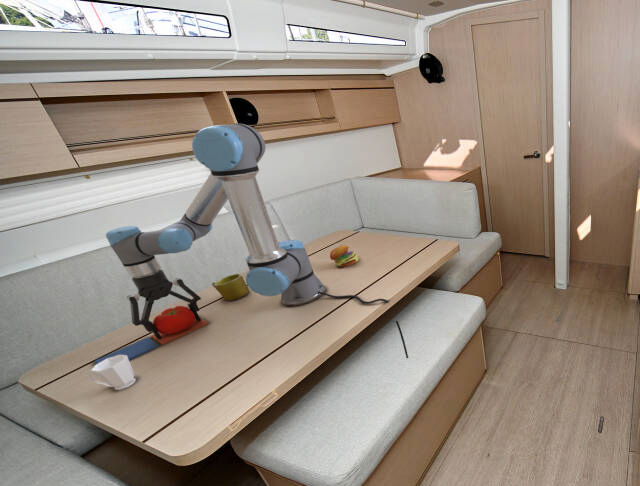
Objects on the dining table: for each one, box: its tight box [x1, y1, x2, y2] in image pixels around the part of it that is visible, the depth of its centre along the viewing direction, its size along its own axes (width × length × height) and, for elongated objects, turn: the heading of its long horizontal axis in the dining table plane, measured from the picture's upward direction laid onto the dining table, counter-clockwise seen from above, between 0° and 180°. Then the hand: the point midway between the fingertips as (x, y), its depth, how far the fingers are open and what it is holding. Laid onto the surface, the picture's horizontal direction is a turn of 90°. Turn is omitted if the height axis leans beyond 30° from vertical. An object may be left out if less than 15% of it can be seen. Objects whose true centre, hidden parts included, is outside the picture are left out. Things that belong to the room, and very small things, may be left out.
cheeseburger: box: [329, 244, 359, 268], centre depth 164 cm, size 10×11×10 cm
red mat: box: [151, 318, 209, 346], centre depth 124 cm, size 10×13×1 cm
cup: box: [87, 355, 137, 391], centre depth 98 cm, size 7×10×8 cm
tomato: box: [152, 305, 195, 334], centre depth 122 cm, size 11×11×8 cm
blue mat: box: [94, 337, 159, 365], centre depth 113 cm, size 10×13×1 cm
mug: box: [211, 273, 250, 301], centre depth 143 cm, size 12×10×10 cm
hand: (179, 328), depth 124 cm, fingers closed on tomato, 11 cm apart
